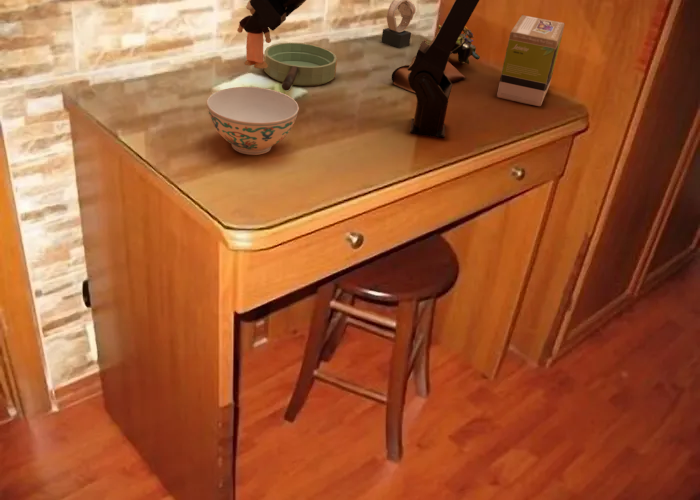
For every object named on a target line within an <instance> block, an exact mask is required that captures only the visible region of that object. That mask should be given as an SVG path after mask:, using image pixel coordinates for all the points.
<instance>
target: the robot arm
mask: <svg viewBox="0 0 700 500" xmlns="http://www.w3.org/2000/svg"><path fill="white" fill-rule="evenodd" d="M306 1H307V0H251V1H250V4H251V6H252V7H253V8H254V10H255V12H254V13H253V15H252V14H251V15H252V16H251V18H250V19H249V21H248V22H247V23H246V25H245V26H244V29H243V31H245V32H246V33H248V32H252V31H255V30H259V29H263V28H269V30H271V31H272V32H273V31H275V30H276V29H277V28H279V27H280V26H281V25H282V24H284V22H285V21H286V20H287V18H288V17H289V16H290V15H291V14H292V13H293V12H295V11H296V10H297V9H299V8H300V7H301V6H302V5H304V3H306ZM479 2H480V0H454V2H453V4H452V6H451V8H450V9H449V11H448V13H447V15H446V17H445V19H444V21H443V22H442V24H441V25H440V26H441V28H440V30H439V29H438V32H437V33H436V36H435V37H433V39H432V40H431V42H429V43H430V44H428V43H426V42H424V40H422V41H421V42H420V45H419V47H418V50H417V53H416V55H415V56H414V57H412V59H411V61H410V64H409V65H410V66H409V68H408V71H411V72H410V75H409V79H408V81H409V84H410V87H411V88H412V90H413V91H414V92H416V93H415V95H416V105H415V112H414V117H413V118H411V119H410V130H409V133H410V134H411V135H417V136H423V137H432V138H436V139H437V138H438V139H445V137H446V124H445V120H446V116H447V111H448V105H449V98H450V96H451V92H452V89H453V83H451V82H450V80H449V79H448V77H447V76H446V75H445V73H444V71H445V68H446V65H447V62H449V58H450V56H451V54H450V53H451V51H452V49H453V47H454V45H455V43H456V42H457V40H458V38H459V36H460V34H463V33H462V32H463V29H464V27H465V26H466V25H467V24H468V22H469V20H470V19H471V16H472V15H473V14H474V11H475V10H476V7H477V6H478V4H479ZM414 92H413V93H414Z"/></svg>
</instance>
